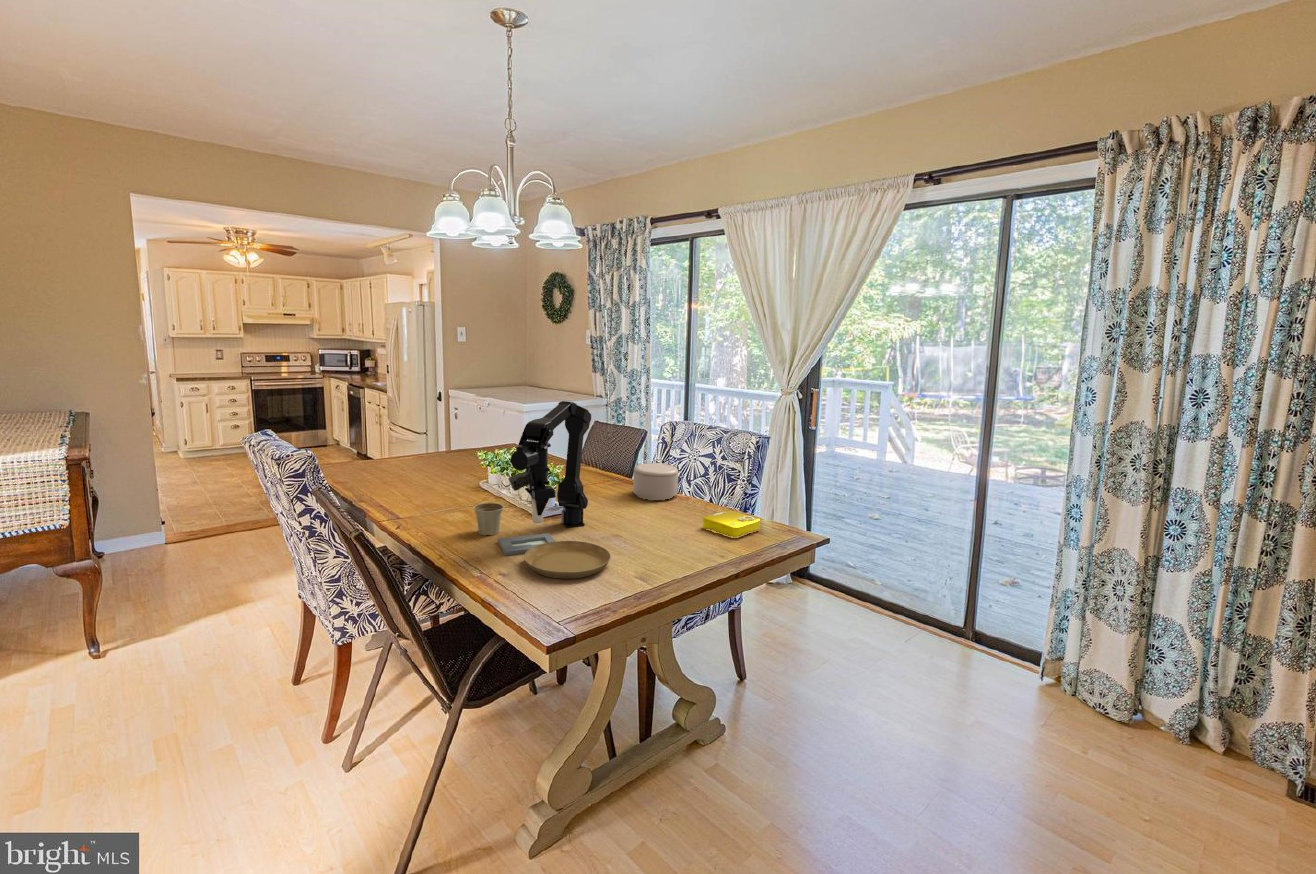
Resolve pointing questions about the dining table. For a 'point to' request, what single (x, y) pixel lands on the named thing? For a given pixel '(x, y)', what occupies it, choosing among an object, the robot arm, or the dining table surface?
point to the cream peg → (534, 513)
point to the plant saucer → (567, 559)
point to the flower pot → (488, 517)
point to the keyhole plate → (523, 543)
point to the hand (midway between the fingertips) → (538, 513)
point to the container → (655, 481)
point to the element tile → (731, 523)
